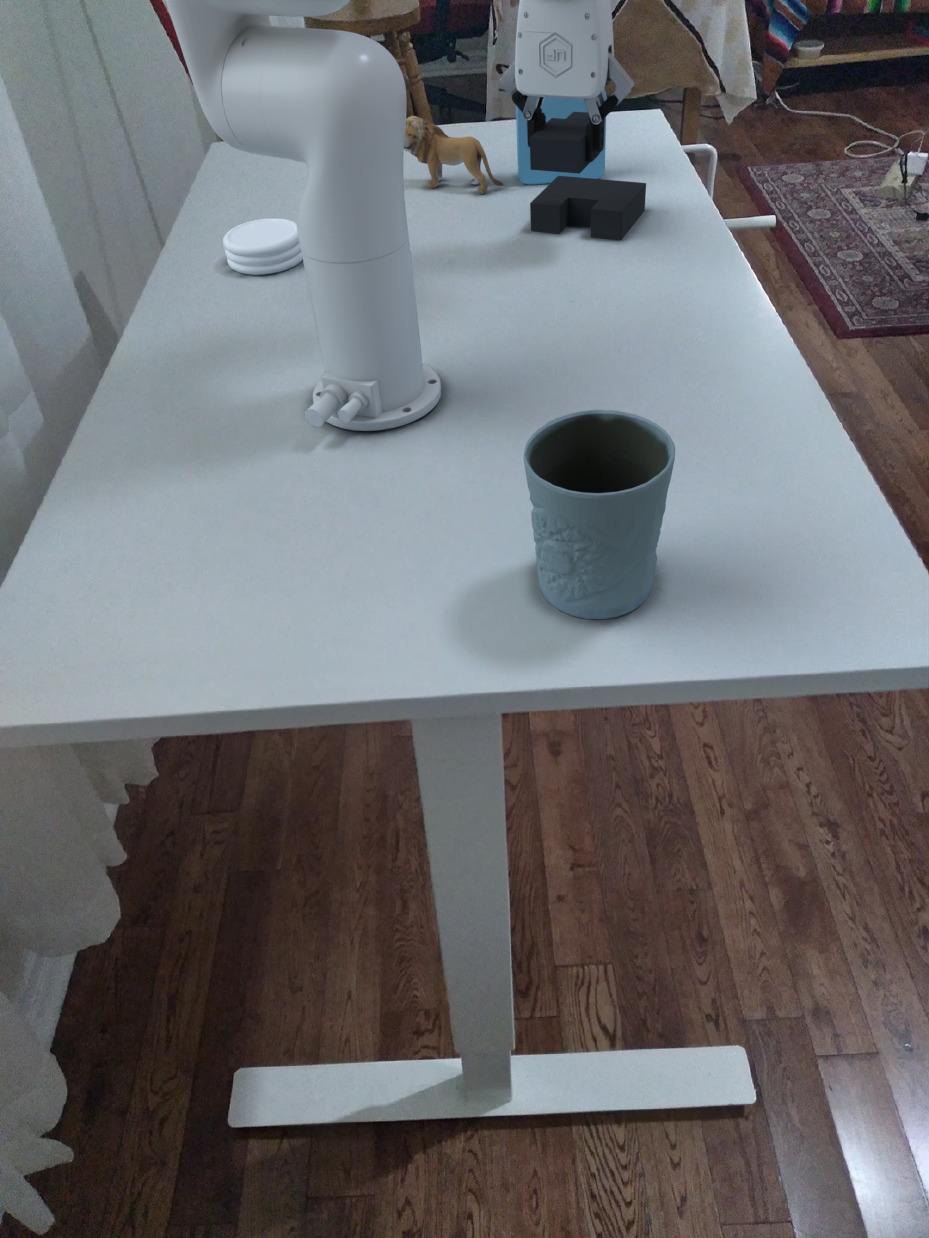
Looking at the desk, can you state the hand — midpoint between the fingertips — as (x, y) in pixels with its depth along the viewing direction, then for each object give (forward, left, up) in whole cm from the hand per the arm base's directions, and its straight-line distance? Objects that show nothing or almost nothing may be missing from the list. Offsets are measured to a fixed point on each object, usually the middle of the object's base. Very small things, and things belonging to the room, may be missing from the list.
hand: (565, 154), depth 111 cm
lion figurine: (+16, +23, -11) cm, 30 cm away
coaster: (-13, +35, -11) cm, 39 cm away
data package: (+23, +9, -11) cm, 27 cm away
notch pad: (+9, 0, -11) cm, 14 cm away
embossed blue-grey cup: (-58, -24, -11) cm, 64 cm away
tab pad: (+1, 0, -1) cm, 2 cm away
